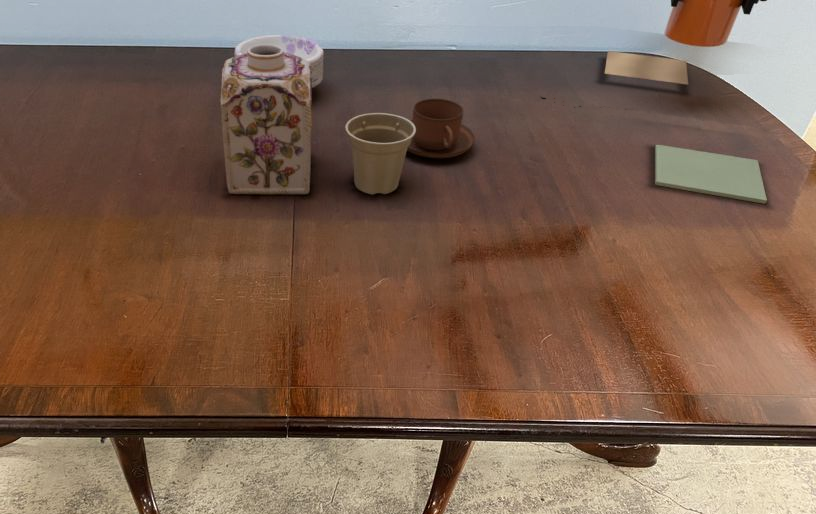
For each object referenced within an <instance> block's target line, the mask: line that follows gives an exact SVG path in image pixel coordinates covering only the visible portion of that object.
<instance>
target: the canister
mask: <svg viewBox="0 0 816 514" xmlns="http://www.w3.org/2000/svg"><path fill="white" fill-rule="evenodd" d="M743 1H744V0H679V1H678V4H677V7H672V8H671V11H670V13H669V16H668V20H667V22H666V25H665V29H664V30H663V31H664V32H663V33H664V36H665V37H666V38H667V39H669V40H671V41H674V42H676V43H679V44H682V45H687V46H694V47H703V48H704V47H705V48H710V47H719V46H722V45H725V44H727V42H728V40H729V38H730V35H731V33H732V31H733V30H732V29H733V28H734V25H735V22H736V21H737V17H738V15H739V12H740V11H741V9H742V3H743Z"/></svg>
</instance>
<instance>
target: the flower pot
mask: <svg viewBox="0 0 816 514" xmlns="http://www.w3.org/2000/svg"><path fill="white" fill-rule="evenodd" d="M344 127H345V128H344V129H345V133H346V134H347V135H348V142H349V143H350V149H351V159H352V168H353V182H354V185H355V187H356V188H357V190H359V191H361V192H362V193H365V194H368V195H375V194H382V195H388V194H390V193H392V192H394V191H395V190H396V189H397V188H398V186H399V183H400V180H401V174H402V170H403V168H404V167H403V166H404V162H405V160H406V159H405V158H406V155H407V152H408V151H407V148H408V146H409V145H410V143H411V139H412V138H413V137H414V135H415V133H416V127H415V125H414V124H413V123H412V122H411V120H410V119H408V118H406V117H405V116H404V117H403V116H402V115H397V114H393V113H387V112H371V113H369V112H368V113H363V114H359V115H356V116H354V117H352V118H350V119H349V120H348V121H347V122H346V124H345V126H344Z"/></svg>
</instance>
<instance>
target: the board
mask: <svg viewBox="0 0 816 514" xmlns="http://www.w3.org/2000/svg"><path fill="white" fill-rule="evenodd" d="M604 74H605V75H613V76H619V77H627V78H636V79H643V80H650V81H658V82H664V83H665V82H667V83H674V84H681V85H689V77H688V66H687V60H685V59H677V58H668V57H660V56H651V55H645V54H635V53H630V52H629V53H628V52H621V51H612V50H607V54H606V62H605V67H604Z"/></svg>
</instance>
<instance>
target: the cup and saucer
mask: <svg viewBox="0 0 816 514" xmlns="http://www.w3.org/2000/svg"><path fill="white" fill-rule="evenodd" d="M463 116H464V108H463V106H462V105H460V104H459V103H458V102H455V101H453V100H451V99H450V100H449V99H445V98H426V99H421V100H420V101H418V102H416V103H415V104H414V105H413V110H412V119H411V120H410V121H411V122H412V123H413V124H414V125H415V127H416V133H415V135H414V137H413V138H412V139H411V143H410V145H409V146H408V148H407V151H406V152H408V153H411V154H413V155H415V156H419V157H422V158H427V159H450V158H455V157H457V156H461V155H463V154H465V153H466V152H468V151H469V150H470V149H471V148H472V147H473V145H474V143H475V139H476V138H475V135H474V133H473V131H472V130H471V129H470V128H468V127H467V126H466V125H463V124H462V121H463Z"/></svg>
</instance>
